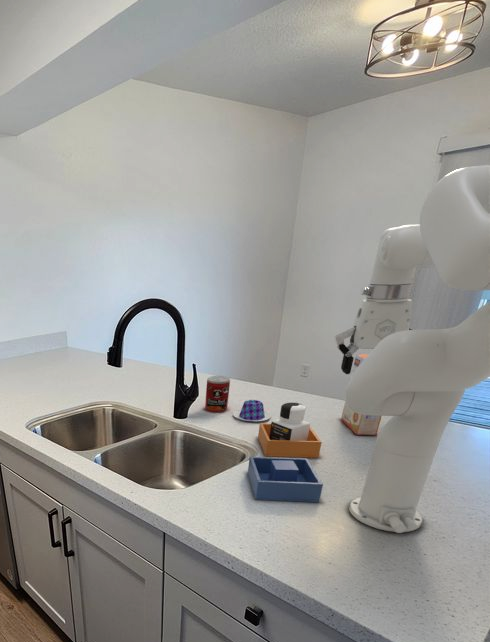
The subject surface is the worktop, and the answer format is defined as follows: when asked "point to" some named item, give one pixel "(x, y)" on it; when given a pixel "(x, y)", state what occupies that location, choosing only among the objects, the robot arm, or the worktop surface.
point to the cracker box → (357, 421)
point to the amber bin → (289, 444)
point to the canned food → (217, 393)
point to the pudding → (252, 411)
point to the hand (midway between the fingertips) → (368, 372)
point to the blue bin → (300, 491)
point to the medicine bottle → (290, 424)
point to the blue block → (283, 471)
